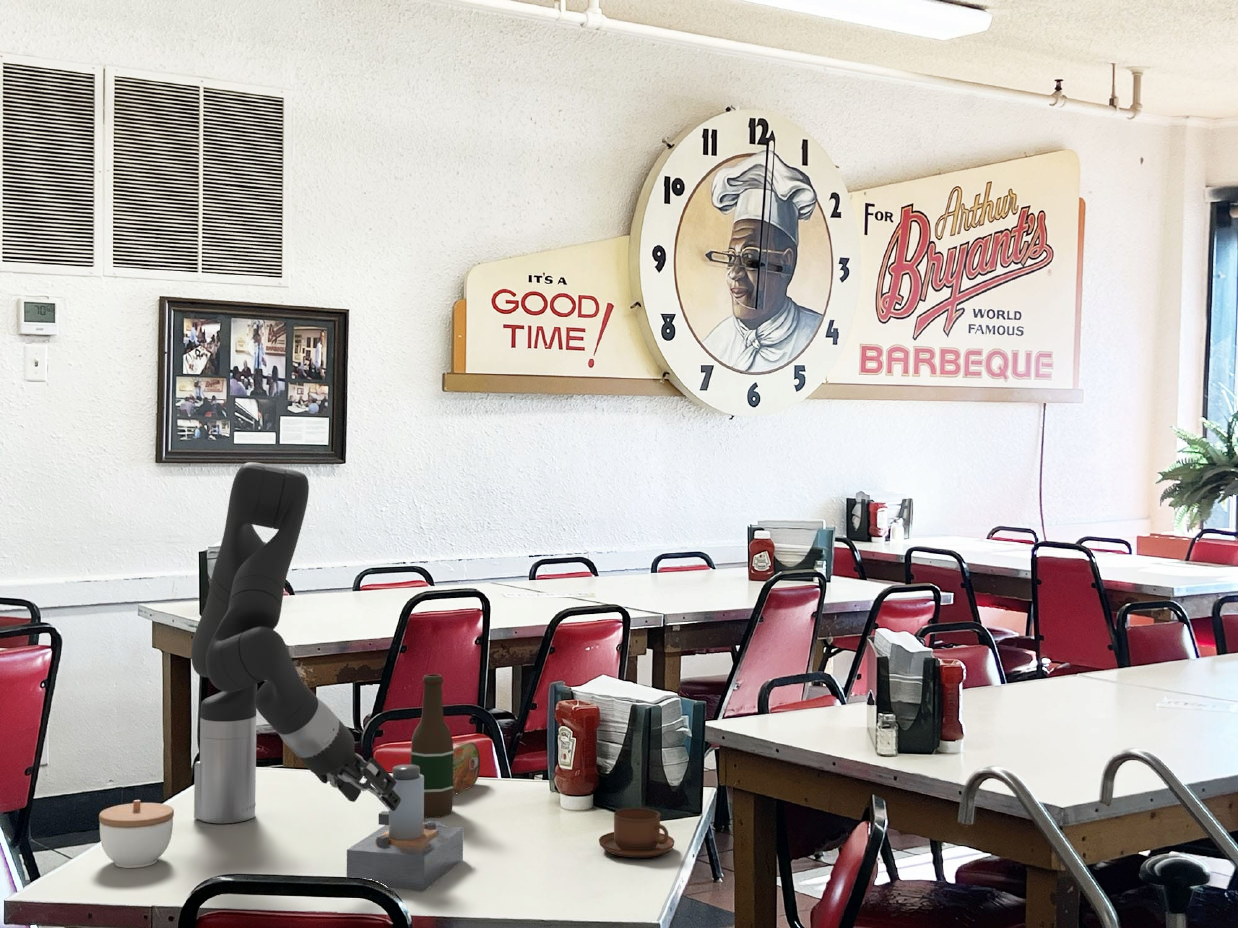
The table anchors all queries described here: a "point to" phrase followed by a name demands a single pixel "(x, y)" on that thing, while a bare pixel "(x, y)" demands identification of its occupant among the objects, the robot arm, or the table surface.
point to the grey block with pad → (407, 857)
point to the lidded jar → (136, 833)
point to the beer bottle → (434, 751)
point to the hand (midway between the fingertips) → (376, 800)
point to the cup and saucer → (637, 834)
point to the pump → (406, 804)
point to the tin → (465, 766)
